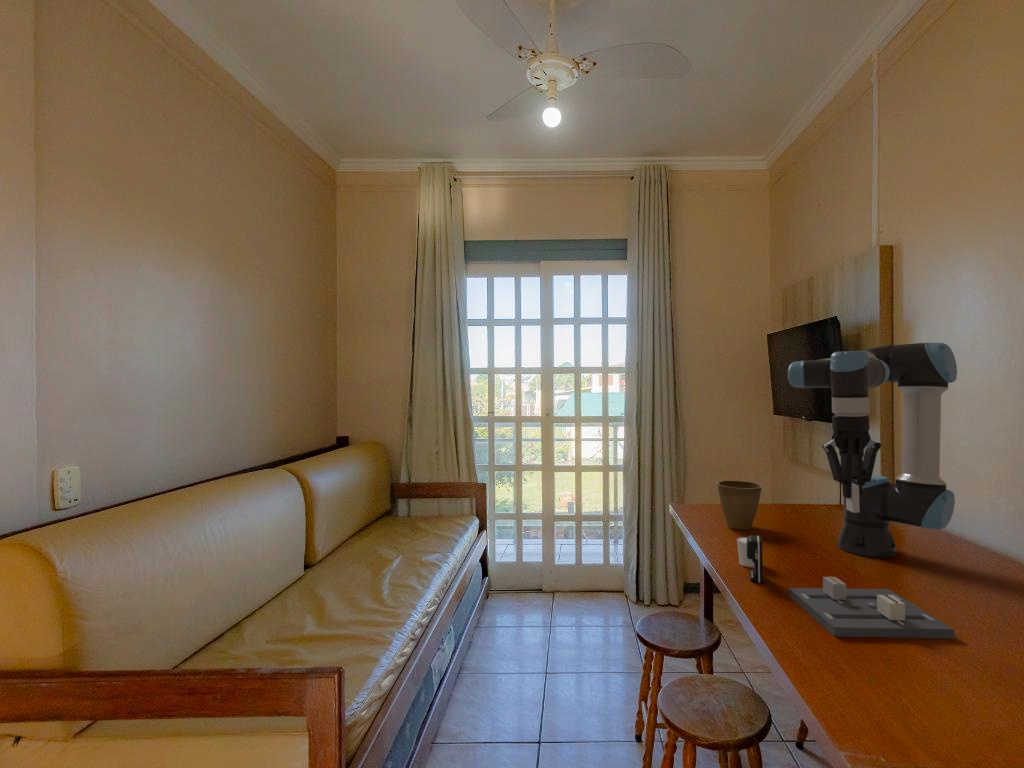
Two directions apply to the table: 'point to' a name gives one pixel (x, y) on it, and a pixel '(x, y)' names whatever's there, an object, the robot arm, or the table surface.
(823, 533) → the table surface
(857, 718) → the table surface
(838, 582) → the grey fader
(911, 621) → the console
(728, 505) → the plant pot
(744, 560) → the grey rimmed cylinder
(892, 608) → the cream fader
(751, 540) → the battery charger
